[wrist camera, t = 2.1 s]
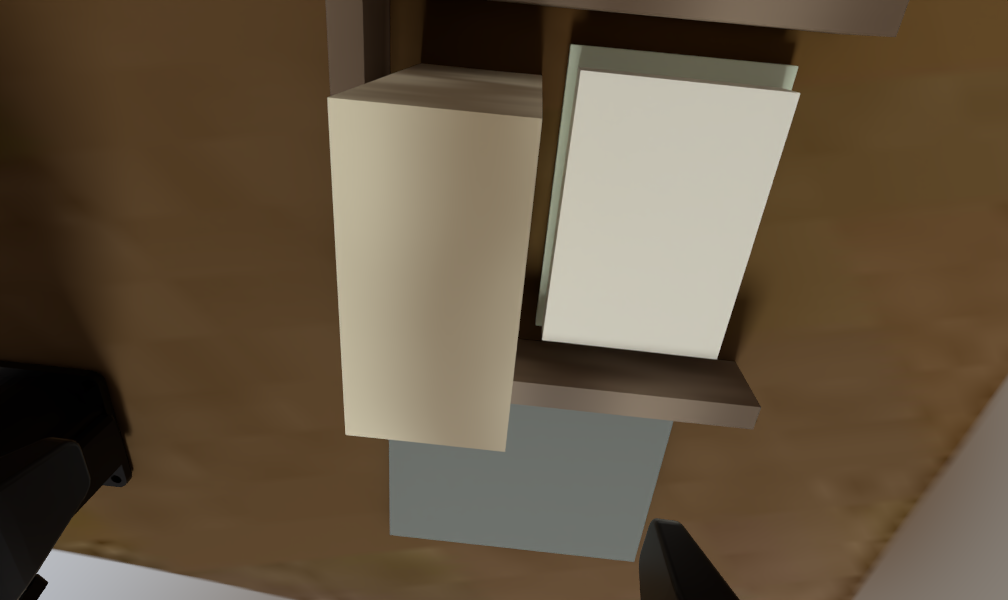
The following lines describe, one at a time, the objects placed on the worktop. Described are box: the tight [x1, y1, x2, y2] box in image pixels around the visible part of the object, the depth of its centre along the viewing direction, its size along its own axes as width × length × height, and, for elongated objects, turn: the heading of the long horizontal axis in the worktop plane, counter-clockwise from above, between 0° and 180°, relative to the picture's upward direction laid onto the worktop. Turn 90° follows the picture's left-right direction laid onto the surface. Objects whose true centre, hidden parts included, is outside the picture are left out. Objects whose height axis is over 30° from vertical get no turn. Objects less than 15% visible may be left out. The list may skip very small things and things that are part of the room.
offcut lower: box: [535, 44, 798, 326], centre depth 20 cm, size 7×10×1 cm
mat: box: [389, 404, 673, 562], centre depth 26 cm, size 12×9×1 cm
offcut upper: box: [542, 67, 800, 359], centre depth 19 cm, size 6×9×1 cm
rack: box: [325, 0, 909, 429], centre depth 19 cm, size 15×14×3 cm
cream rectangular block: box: [327, 63, 542, 452], centre depth 16 cm, size 4×8×9 cm, turn 175°
